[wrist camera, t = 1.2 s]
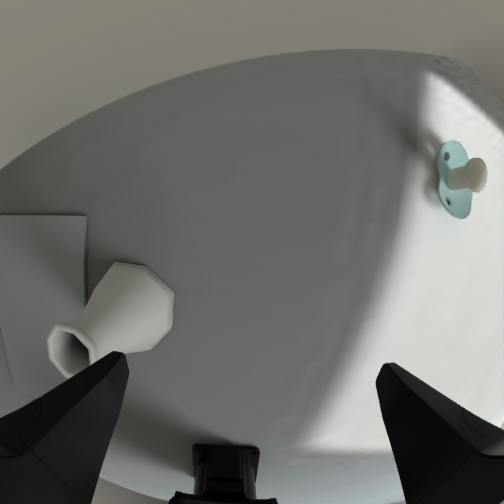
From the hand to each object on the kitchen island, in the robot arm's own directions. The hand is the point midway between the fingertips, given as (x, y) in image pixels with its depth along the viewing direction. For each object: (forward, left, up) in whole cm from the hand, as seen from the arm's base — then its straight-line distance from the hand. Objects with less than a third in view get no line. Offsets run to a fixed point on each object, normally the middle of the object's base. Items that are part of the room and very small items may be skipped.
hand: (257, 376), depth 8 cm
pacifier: (+11, -19, -13) cm, 26 cm away
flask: (-2, +9, -13) cm, 16 cm away
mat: (-5, +20, -13) cm, 24 cm away
